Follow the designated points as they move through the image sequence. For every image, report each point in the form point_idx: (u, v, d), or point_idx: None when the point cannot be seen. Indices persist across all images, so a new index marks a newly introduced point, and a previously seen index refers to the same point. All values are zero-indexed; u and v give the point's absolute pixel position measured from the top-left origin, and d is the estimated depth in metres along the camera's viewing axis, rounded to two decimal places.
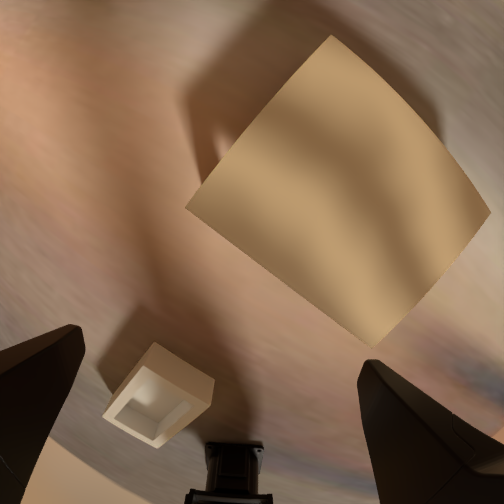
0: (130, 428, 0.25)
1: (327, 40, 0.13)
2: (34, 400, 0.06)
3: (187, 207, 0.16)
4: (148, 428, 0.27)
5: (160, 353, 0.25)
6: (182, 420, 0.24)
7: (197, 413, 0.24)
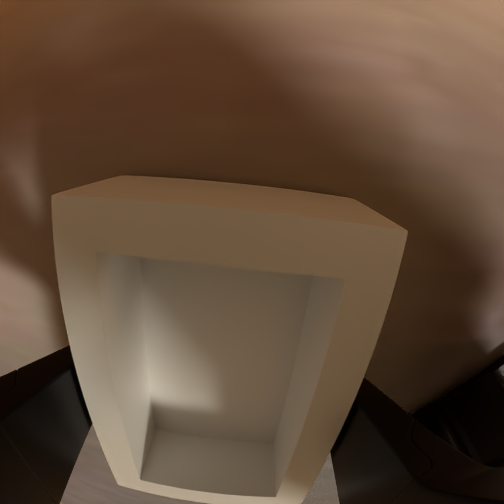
0: (196, 490, 0.08)
1: None
2: (69, 413, 0.06)
3: None
4: (250, 468, 0.09)
5: (139, 180, 0.07)
6: (330, 388, 0.06)
7: (374, 315, 0.06)
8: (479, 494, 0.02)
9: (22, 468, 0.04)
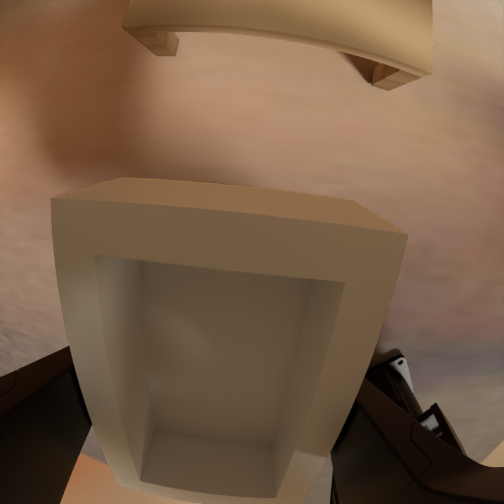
0: (196, 491, 0.08)
1: None
2: (69, 413, 0.06)
3: (124, 25, 0.11)
4: (250, 470, 0.09)
5: (138, 183, 0.07)
6: (330, 390, 0.06)
7: (373, 318, 0.06)
8: (477, 494, 0.02)
9: (22, 468, 0.04)
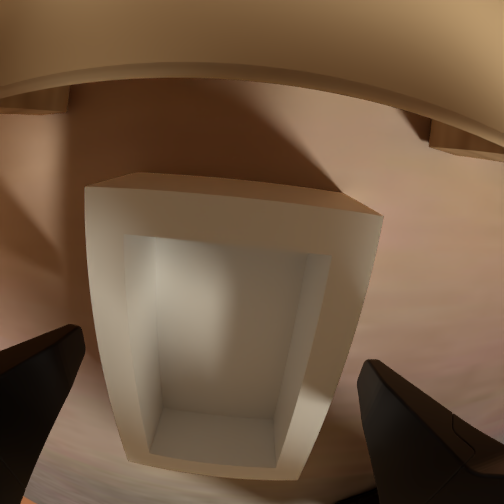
0: (202, 461, 0.09)
1: None
2: (34, 400, 0.06)
3: None
4: (252, 442, 0.10)
5: (155, 176, 0.08)
6: (322, 353, 0.07)
7: (357, 287, 0.07)
8: None
9: None
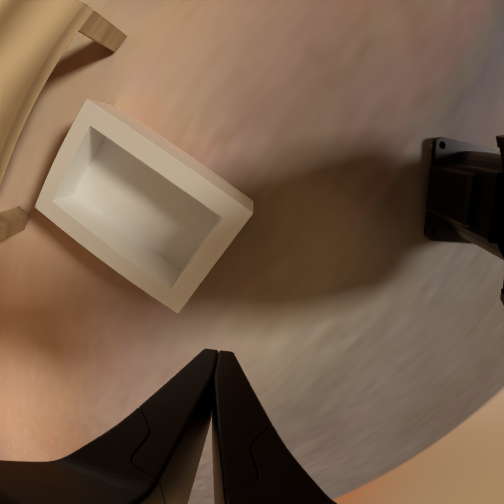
0: (191, 260, 0.15)
1: None
2: (195, 444, 0.06)
3: None
4: (214, 226, 0.16)
5: None
6: (131, 145, 0.13)
7: (107, 118, 0.13)
8: None
9: None
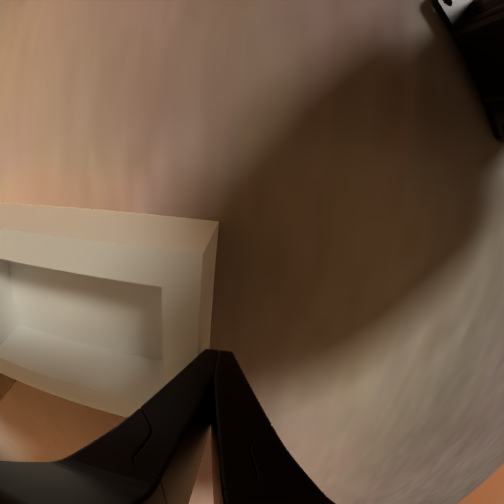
0: (164, 365, 0.09)
1: None
2: (196, 444, 0.06)
3: None
4: None
5: None
6: (4, 250, 0.07)
7: None
8: None
9: None
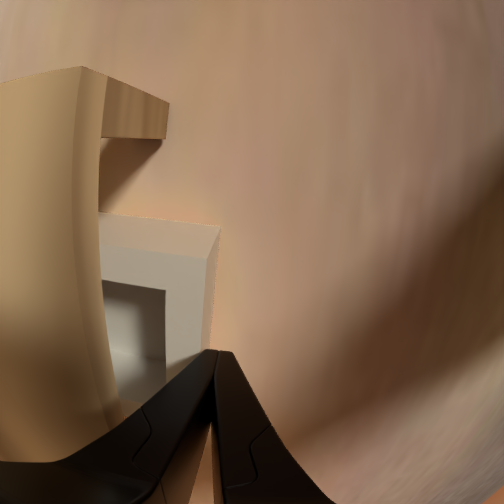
0: (166, 366, 0.09)
1: None
2: (196, 444, 0.06)
3: None
4: None
5: None
6: None
7: None
8: None
9: None
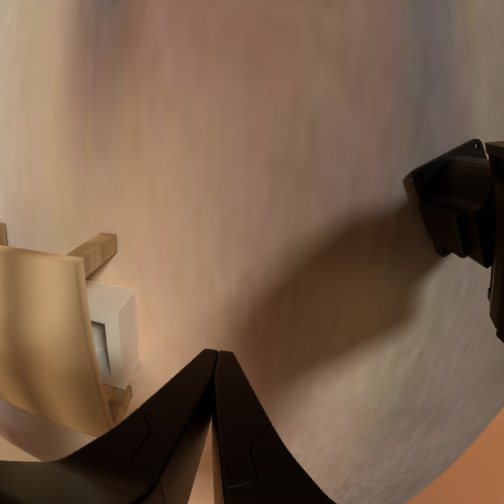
0: (108, 355, 0.19)
1: (2, 399, 0.18)
2: (195, 444, 0.06)
3: None
4: None
5: None
6: None
7: None
8: None
9: None
